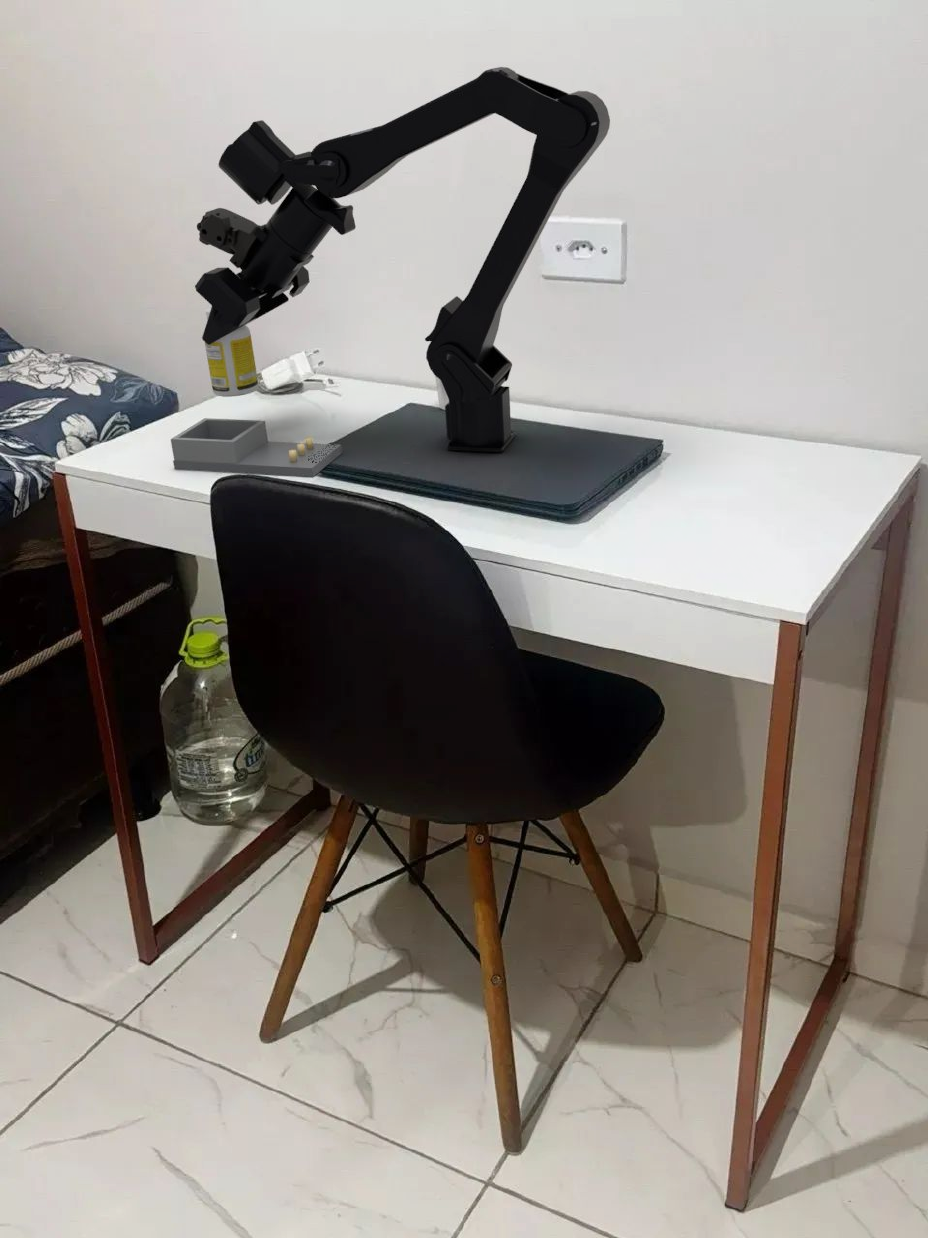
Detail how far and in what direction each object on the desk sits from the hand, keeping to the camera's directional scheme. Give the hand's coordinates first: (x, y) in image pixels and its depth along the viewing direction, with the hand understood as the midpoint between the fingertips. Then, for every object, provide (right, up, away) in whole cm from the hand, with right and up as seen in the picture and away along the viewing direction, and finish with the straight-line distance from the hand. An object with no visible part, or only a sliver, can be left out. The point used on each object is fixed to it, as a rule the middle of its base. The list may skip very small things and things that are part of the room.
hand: (216, 335), depth 137 cm
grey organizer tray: (+6, -15, -4) cm, 17 cm away
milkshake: (+27, -6, +11) cm, 30 cm away
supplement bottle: (+2, -6, +3) cm, 7 cm away
